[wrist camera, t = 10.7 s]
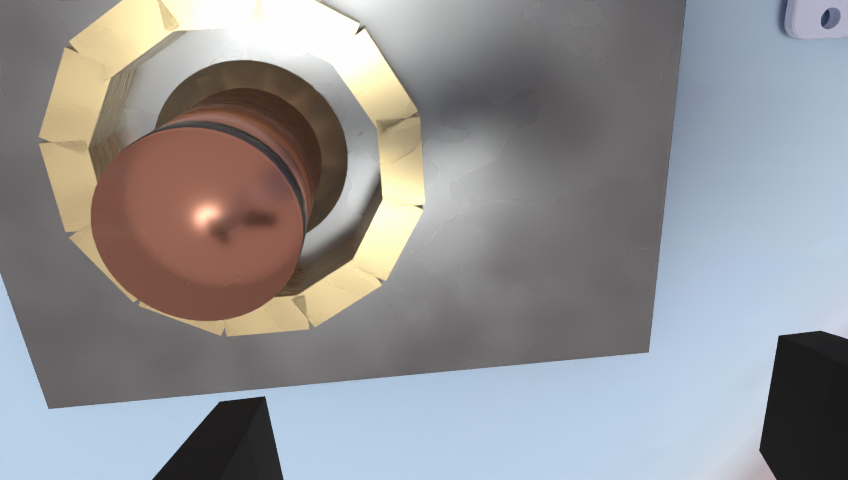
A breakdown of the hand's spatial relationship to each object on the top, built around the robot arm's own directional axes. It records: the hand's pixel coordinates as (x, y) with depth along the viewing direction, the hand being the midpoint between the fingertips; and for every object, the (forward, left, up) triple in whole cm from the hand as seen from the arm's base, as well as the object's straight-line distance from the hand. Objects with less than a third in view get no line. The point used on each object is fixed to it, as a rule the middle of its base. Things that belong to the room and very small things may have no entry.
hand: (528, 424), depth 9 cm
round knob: (+5, -2, -8) cm, 10 cm away
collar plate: (+3, -2, -9) cm, 10 cm away
